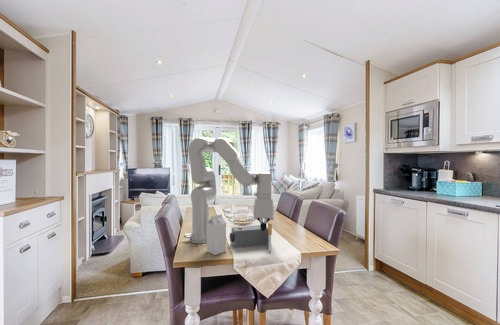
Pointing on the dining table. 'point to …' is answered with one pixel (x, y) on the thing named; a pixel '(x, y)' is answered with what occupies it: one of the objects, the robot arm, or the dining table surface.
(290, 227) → the dining table surface
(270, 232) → the side door
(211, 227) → the milk carton
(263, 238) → the box
